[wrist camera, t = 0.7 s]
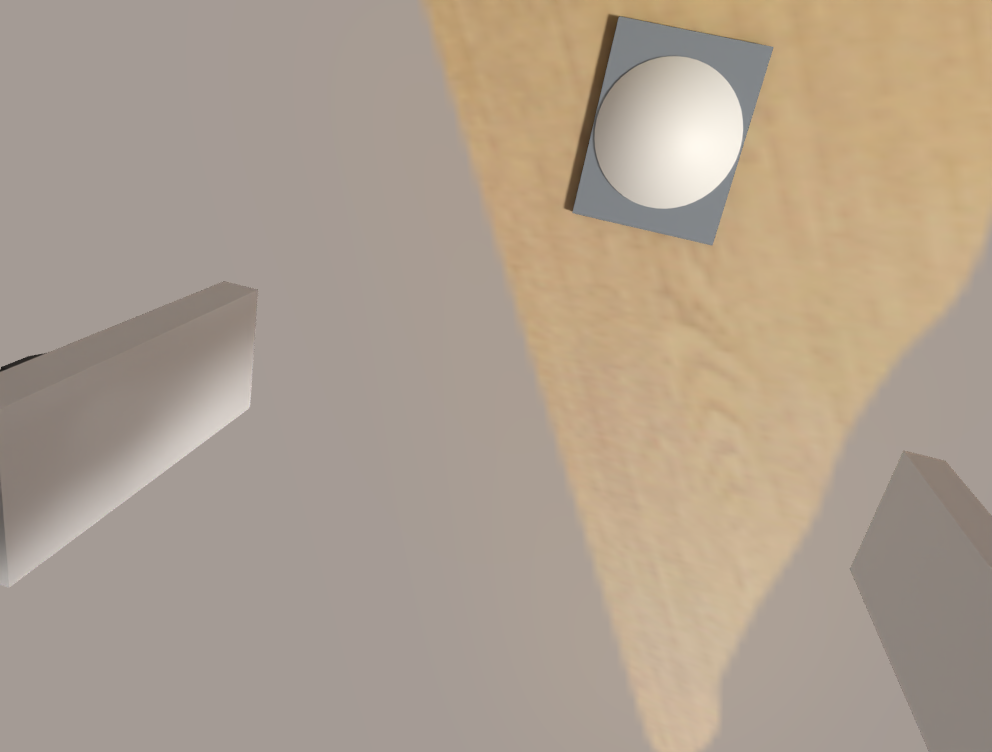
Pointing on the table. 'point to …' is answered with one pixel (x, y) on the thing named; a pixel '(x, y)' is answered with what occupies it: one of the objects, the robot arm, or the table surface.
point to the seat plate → (669, 129)
